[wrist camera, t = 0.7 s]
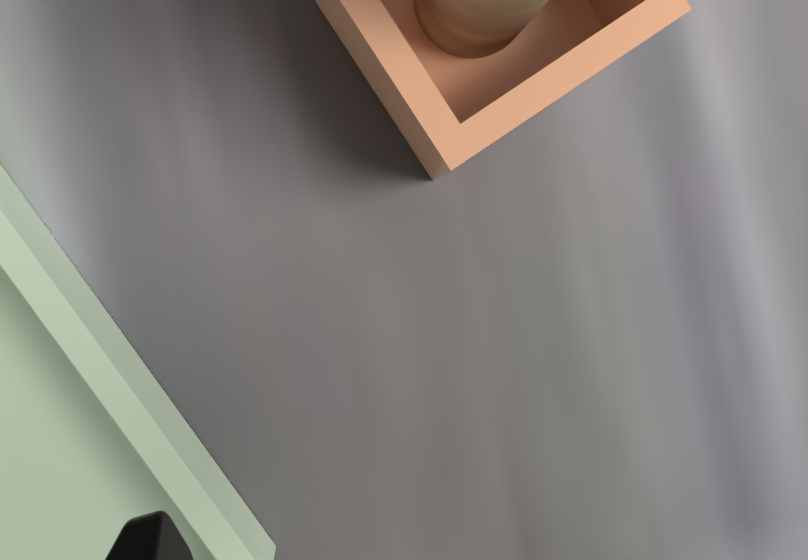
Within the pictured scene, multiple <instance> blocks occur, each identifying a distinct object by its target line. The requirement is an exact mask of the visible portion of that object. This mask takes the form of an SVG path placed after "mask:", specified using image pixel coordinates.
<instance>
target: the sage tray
mask: <svg viewBox="0 0 808 560" xmlns="http://www.w3.org/2000/svg"><path fill="white" fill-rule="evenodd" d="M161 510H162V511H165V512H166V513H167V514H168V515H169V516H170V517H171V519H172V521H173V522H174V524H175V525H176V527H177V529H178V530H179V532H180V534H181V535H182V537H183V538H184V540H185V542H186V543H187V545H188V547H189V548H190V551H191V553H192V556H193V560H274V555H275V550H276V546H275V544H274V543H273V541H272V540H271V539H270V537H269V536H268V535H267V533H266V532H265V530H264V529H263V528H262V526H261V525H260V523H259V522H258V521H257V519H256V518H255V517H254V515H253V514H252V512H251V511H250V510H249V508H248V507H247V505H246V504H245V503H244V501H243V500H242V498H241V497H240V496H239V494H238V493H237V492H236V490H235V489H234V487H233V486H232V485H231V483H230V482H229V480H228V479H227V478H226V476H225V475H224V474H223V472H222V471H221V469H220V468H219V467H218V465H217V464H216V462H215V461H214V460H213V458H212V457H211V456H210V454H209V453H208V451H207V450H206V449H205V447H204V446H203V444H202V443H201V442H200V440H199V439H198V437H197V436H196V435H195V433H194V432H193V431H192V429H191V428H190V426H189V425H188V424H187V422H186V421H185V419H184V418H183V417H182V415H181V414H180V413H179V411H178V410H177V408H176V407H175V406H174V404H173V403H172V401H171V400H170V399H169V397H168V396H167V394H166V393H165V392H164V390H163V389H162V388H161V386H160V385H159V383H158V382H157V381H156V379H155V378H154V376H153V375H152V374H151V372H150V371H149V370H148V368H147V367H146V365H145V364H144V363H143V361H142V360H141V358H140V357H139V356H138V354H137V353H136V351H135V350H134V349H133V347H132V346H131V345H130V343H129V342H128V340H127V339H126V338H125V336H124V335H123V333H122V332H121V331H120V329H119V328H118V327H117V325H116V324H115V322H114V321H113V320H112V318H111V317H110V315H109V314H108V313H107V311H106V310H105V308H104V307H103V306H102V304H101V303H100V302H99V300H98V299H97V297H96V296H95V295H94V293H93V292H92V290H91V289H90V288H89V286H88V285H87V284H86V282H85V281H84V279H83V278H82V277H81V275H80V274H79V272H78V271H77V270H76V268H75V267H74V265H73V264H72V263H71V261H70V260H69V259H68V257H67V256H66V254H65V253H64V252H63V250H62V249H61V247H60V246H59V245H58V243H57V242H56V241H55V239H54V238H53V236H52V235H51V234H50V232H49V231H48V229H47V228H46V227H45V225H44V224H43V222H42V221H41V220H40V218H39V217H38V216H37V214H36V213H35V211H34V210H33V209H32V207H31V206H30V204H29V203H28V202H27V200H26V199H25V198H24V196H23V195H22V193H21V192H20V191H19V189H18V188H17V186H16V185H15V184H14V182H13V181H12V179H11V178H10V177H9V175H8V174H7V173H6V171H5V170H4V168H3V167H2V166H1V164H0V560H105V559H106V557H107V555H108V553H109V551H110V549H111V548H112V546H113V544H114V542H115V540H116V538H117V537H118V535H119V533H120V531H121V529H122V528H123V526H124V525H125V523H126V522H127V521H129V520H130V519H132V518H134V517H137V516H141V515H144V514H148V513H151V512H155V511H161Z"/></svg>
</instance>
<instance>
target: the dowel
mask: <svg viewBox="0 0 808 560" xmlns="http://www.w3.org/2000/svg"><path fill="white" fill-rule="evenodd" d="M548 1H549V0H414V9H415V13H416V17H417V20H418V22H419V25H420V26H421V28H422V30H423V32H424V33H425V34H426V36H427V37H428V38H429V39H430V40H431V41H432V42H433V43H434V44H435V45H436V46H437V47H439V48H440V49H442V50H443V51H445V52H447V53H449V54H451V55H454V56H457V57H462V58H474V59H475V58H483V57H487V56H490V55H493V54H495V53H497V52H499V51H501V50H502V49H504V48H505V47H506V46H508V45H509V44H510V43H511V42H512V41H513V40H514V39H515V38H516V37H517V35H518V34H519V33H520V32H521V31H522V30H523V29H524V28H525V27H526V25H527V24H528V23H529V22H530V21H531V20H532V19H533V18H534V17H535V15H536V14H537V13H538V12H539V11H540V10H541V9H542V8H543V7H544V5H545V4H546V3H547V2H548Z"/></svg>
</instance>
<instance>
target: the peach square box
mask: <svg viewBox="0 0 808 560" xmlns="http://www.w3.org/2000/svg"><path fill="white" fill-rule="evenodd" d="M315 2H316V3H317V5H318V6H319V8H320V9H321V11H322V12H323V14H324V15H325V17H326V18H327V20H328V21H329V23H330V24H331V26H332V28H333V29H334V31H335V32H336V34H337V35H338V37H339V38H340V40H341V41H342V43H343V44H344V46H345V47H346V49H347V50H348V52H349V53H350V55H351V57H352V58H353V60H354V61H355V63H356V64H357V66H358V67H359V69H360V70H361V72H362V73H363V75H364V76H365V78H366V79H367V81H368V82H369V84H370V86H371V87H372V89H373V90H374V92H375V93H376V95H377V96H378V98H379V99H380V101H381V102H382V104H383V105H384V107H385V108H386V110H387V112H388V113H389V115H390V116H391V118H392V119H393V121H394V122H395V124H396V125H397V127H398V128H399V130H400V131H401V133H402V134H403V136H404V137H405V139H406V141H407V142H408V144H409V145H410V147H411V148H412V150H413V151H414V153H415V154H416V156H417V157H418V159H419V160H420V162H421V163H422V165H423V166H424V168H425V170H426V171H427V173H428V174H429V176H430V177H431V179H432V180H435V179H437V178H439V177H441V176H442V175H444V174H446V173H448V172H449V171H451V170H453V169H454V168H456V167H457V166H459V165H460V164H462V163H463V162H465V161H466V160H468V159H469V158H471V157H472V156H474V155H475V154H477V153H478V152H480V151H481V150H483V149H484V148H485V147H487V146H488V145H490V144H491V143H493V142H494V141H496V140H497V139H499V138H500V137H502V136H503V135H505V134H506V133H508V132H509V131H511V130H512V129H514V128H515V127H517V126H518V125H520V124H521V123H523V122H524V121H526V120H527V119H529V118H530V117H532V116H533V115H535V114H536V113H538V112H539V111H541V110H542V109H544V108H545V107H547V106H548V105H550V104H551V103H553V102H554V101H556V100H557V99H559V98H560V97H562V96H563V95H565V94H566V93H567V92H569V91H570V90H572V89H573V88H575V87H576V86H578V85H579V84H581V83H582V82H584V81H585V80H587V79H588V78H590V77H591V76H593V75H594V74H596V73H597V72H599V71H600V70H602V69H603V68H605V67H606V66H608V65H609V64H611V63H612V62H614V61H615V60H617V59H618V58H620V57H621V56H623V55H624V54H626V53H627V52H629V51H630V50H632V49H633V48H635V47H636V46H638V45H639V44H641V43H642V42H644V41H645V40H647V39H648V38H649V37H651V36H652V35H654V34H655V33H657V32H658V31H660V30H661V29H663V28H664V27H666V26H667V25H669V24H670V23H672V22H673V21H675V20H676V19H678V18H679V17H681V16H682V15H684V14H685V13H687V12H688V11H690V10H691V9H692V8H691V7H690V5H689V3H688V2H687V0H549V1H548V2H547V3H546V4H545V5H544V7H543V8H542V9H541V10H540V11H539V12H538V13H537V14H536V15H535V17H534V18H533V19H532V20H531V21H530V22H529V23H528V24H527V25H526V27H525V28H524V29H523V30H522V31H521V32H520V33H519V34H518V35H517V37H516V38H515V39H514V40H513V41H512V42H511V43H510V44H509V45H508V46H506V47H505V48H504V49H502V50H501V51H499V52H497V53H495V54H493V55H490V56H487V57H483V58H475V59H474V58H462V57H457V56H454V55H451V54H449V53H447V52H445V51H443V50H442V49H440V48H439V47H437V46H436V45H435V44H434V43H433V42H432V41H431V40H430V39H429V38H428V37H427V36H426V34H425V33H424V32H423V30H422V28H421V26H420V25H419V22H418V20H417V17H416V13H415V9H414V0H315Z"/></svg>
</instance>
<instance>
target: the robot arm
mask: <svg viewBox="0 0 808 560" xmlns="http://www.w3.org/2000/svg"><path fill="white" fill-rule="evenodd" d="M105 560H193V556H192V553H191V551H190V548H189V547H188V545H187V543H186V542H185V540H184V538H183V537H182V535H181V534H180V532H179V530H178V529H177V527H176V525H175V524H174V522H173V521H172V519H171V517H170V516H169V515H168V514H167V513H166V512H165V511H162V510H161V511H155V512H151V513H148V514H144V515H141V516H137V517H134V518H132V519H130V520H129V521H127V522H126V523H125V525H124V526H123V528H122V529H121V531H120V533H119V535H118V537H117V538H116V540H115V542H114V544H113V546H112V548H111V549H110V551H109V553H108V555H107V557H106V559H105Z"/></svg>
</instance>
